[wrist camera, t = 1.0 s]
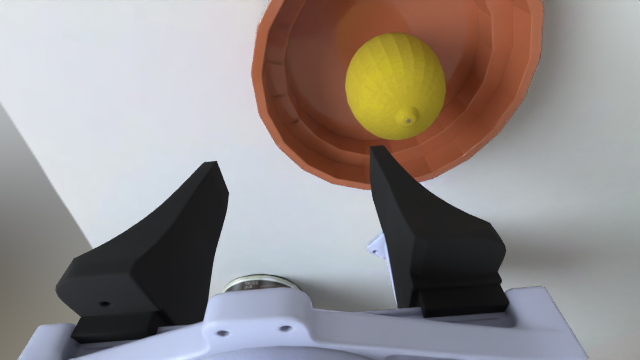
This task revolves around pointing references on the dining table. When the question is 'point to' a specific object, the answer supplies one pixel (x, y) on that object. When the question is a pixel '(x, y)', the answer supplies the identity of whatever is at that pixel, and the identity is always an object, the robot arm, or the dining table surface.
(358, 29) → the bowl
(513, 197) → the dining table surface
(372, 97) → the lemon
